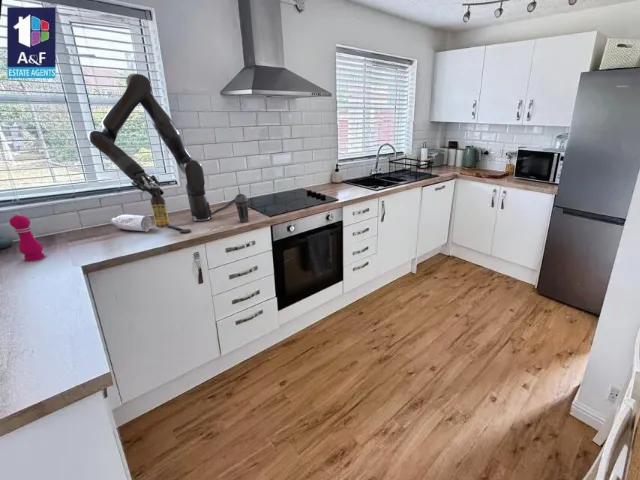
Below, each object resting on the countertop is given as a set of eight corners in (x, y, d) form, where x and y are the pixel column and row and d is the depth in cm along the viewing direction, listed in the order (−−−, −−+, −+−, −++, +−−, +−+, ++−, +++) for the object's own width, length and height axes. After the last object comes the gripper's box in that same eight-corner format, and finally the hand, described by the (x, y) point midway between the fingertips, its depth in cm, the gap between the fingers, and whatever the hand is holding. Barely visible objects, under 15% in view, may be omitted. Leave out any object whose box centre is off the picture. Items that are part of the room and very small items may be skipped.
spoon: (172, 225, 201) (172, 223, 200) (192, 231, 193) (192, 229, 193) (163, 228, 197) (163, 225, 197) (184, 234, 189) (183, 231, 189)
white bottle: (122, 226, 197) (117, 211, 194) (154, 228, 195) (150, 214, 192) (110, 230, 190) (105, 215, 187) (143, 233, 188) (139, 218, 185)
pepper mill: (28, 263, 151) (7, 215, 142) (21, 259, 155) (0, 212, 146) (49, 257, 157) (30, 211, 148) (42, 254, 160) (23, 208, 151)
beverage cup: (253, 219, 216) (248, 185, 207) (247, 223, 209) (242, 187, 200) (241, 219, 216) (236, 184, 207) (235, 222, 210) (229, 187, 201)
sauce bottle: (156, 228, 183) (145, 188, 173) (156, 225, 188) (145, 185, 178) (171, 227, 186) (161, 187, 176) (170, 223, 190) (161, 184, 181)
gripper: (122, 164, 167) (152, 193, 171) (144, 160, 180) (172, 187, 184) (114, 175, 170) (145, 203, 174) (137, 170, 183) (165, 196, 187)
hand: (159, 194), depth 179 cm, fingers closed on sauce bottle, 4 cm apart
